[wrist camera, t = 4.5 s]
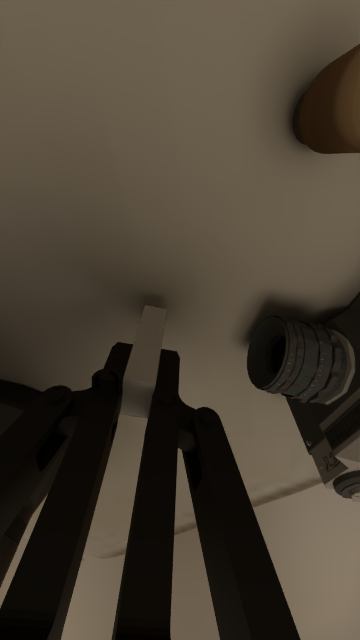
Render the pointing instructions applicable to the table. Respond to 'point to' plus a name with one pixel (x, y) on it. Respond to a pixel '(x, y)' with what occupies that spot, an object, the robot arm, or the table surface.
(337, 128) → the brown rounded cylinder
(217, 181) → the table surface
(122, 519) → the table surface
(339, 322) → the camera
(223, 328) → the table surface
